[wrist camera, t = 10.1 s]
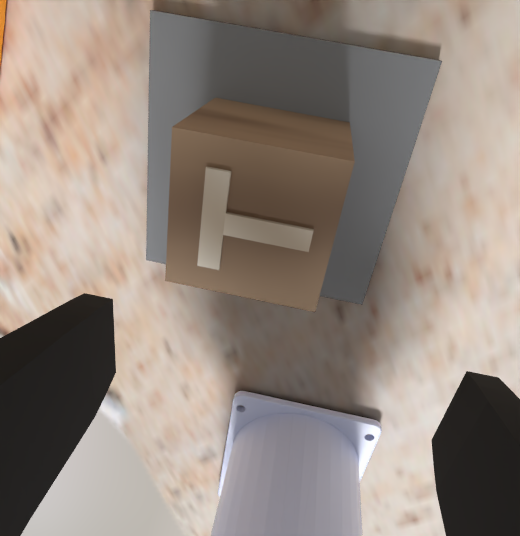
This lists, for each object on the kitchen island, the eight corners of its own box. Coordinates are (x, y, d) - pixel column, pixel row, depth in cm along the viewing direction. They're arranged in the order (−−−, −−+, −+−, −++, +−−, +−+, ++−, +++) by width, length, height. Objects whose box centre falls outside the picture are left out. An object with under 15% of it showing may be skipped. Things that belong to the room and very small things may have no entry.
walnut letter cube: (320, 243, 19) (314, 314, 14) (204, 220, 19) (164, 282, 14) (349, 122, 16) (354, 163, 12) (215, 97, 16) (170, 127, 12)
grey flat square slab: (361, 299, 20) (362, 304, 20) (149, 255, 21) (146, 259, 20) (439, 60, 15) (441, 61, 15) (154, 10, 15) (150, 10, 15)
